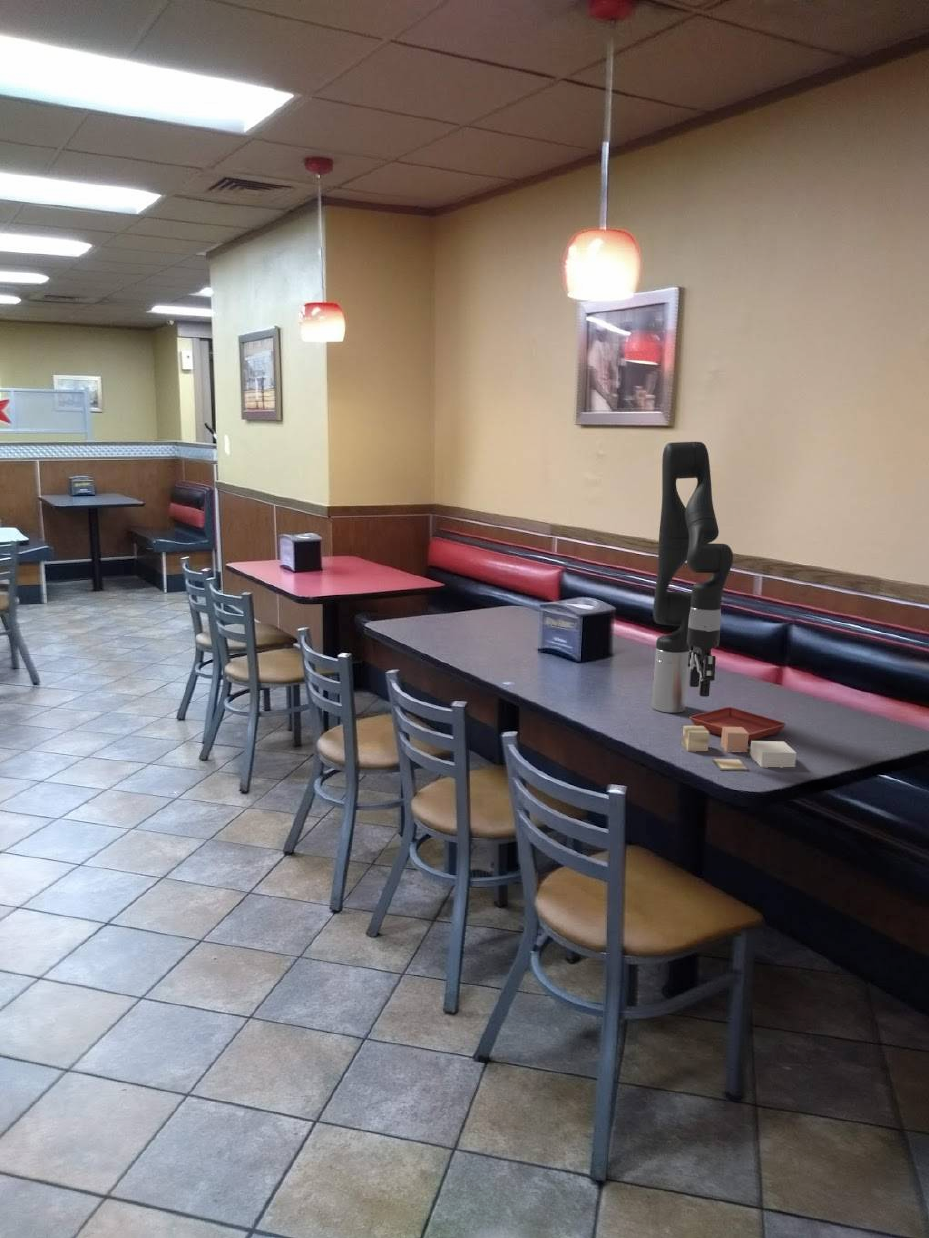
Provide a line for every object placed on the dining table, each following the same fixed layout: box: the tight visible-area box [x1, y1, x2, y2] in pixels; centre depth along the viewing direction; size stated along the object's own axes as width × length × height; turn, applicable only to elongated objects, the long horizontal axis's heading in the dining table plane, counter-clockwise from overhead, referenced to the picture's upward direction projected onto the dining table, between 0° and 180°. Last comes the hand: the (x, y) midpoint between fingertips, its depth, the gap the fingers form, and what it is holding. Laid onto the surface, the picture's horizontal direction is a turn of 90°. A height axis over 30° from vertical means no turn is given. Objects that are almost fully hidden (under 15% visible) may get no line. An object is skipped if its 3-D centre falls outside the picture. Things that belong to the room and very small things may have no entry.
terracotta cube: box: [720, 727, 749, 753], centre depth 227 cm, size 5×5×5 cm
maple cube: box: [681, 725, 710, 752], centre depth 227 cm, size 5×5×5 cm
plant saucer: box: [689, 706, 787, 742], centre depth 242 cm, size 18×18×3 cm
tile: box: [711, 758, 750, 772], centre depth 216 cm, size 7×7×1 cm
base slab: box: [749, 740, 797, 769], centre depth 219 cm, size 8×8×4 cm
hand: (698, 691), depth 225 cm, fingers open, 8 cm apart
